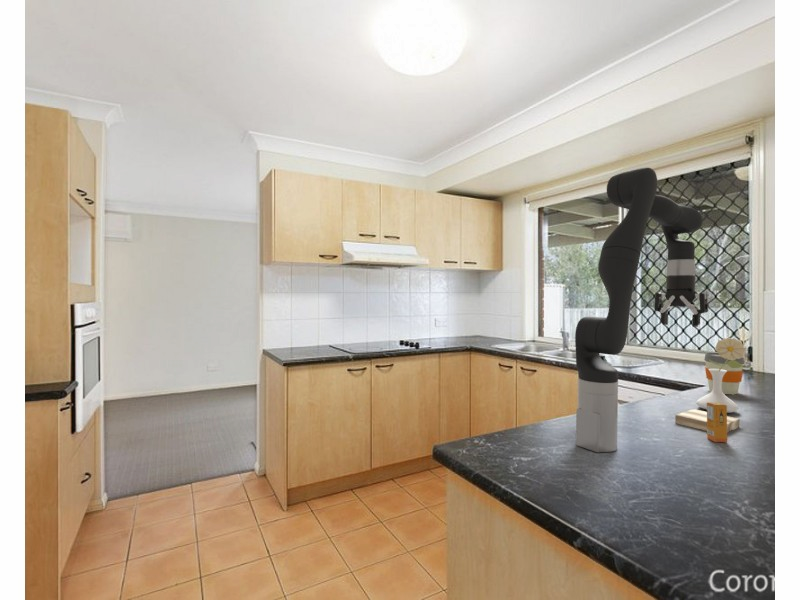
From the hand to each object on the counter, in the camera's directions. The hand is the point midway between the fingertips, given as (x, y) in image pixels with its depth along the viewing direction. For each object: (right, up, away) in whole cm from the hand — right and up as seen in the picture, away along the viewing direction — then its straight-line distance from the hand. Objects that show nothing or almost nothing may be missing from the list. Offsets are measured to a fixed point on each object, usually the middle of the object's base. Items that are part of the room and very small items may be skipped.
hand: (679, 325), depth 130 cm
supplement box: (-4, -30, -20) cm, 36 cm away
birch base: (+3, -29, -7) cm, 30 cm away
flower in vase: (+19, -30, +8) cm, 36 cm away
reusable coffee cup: (+41, -29, +35) cm, 61 cm away
